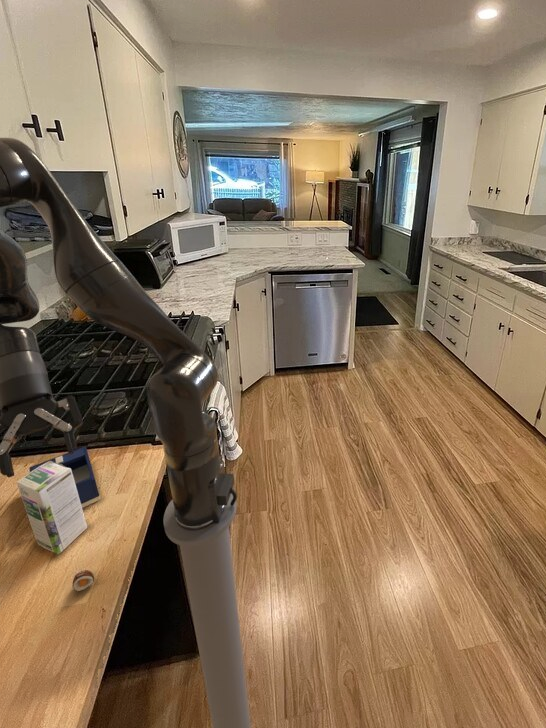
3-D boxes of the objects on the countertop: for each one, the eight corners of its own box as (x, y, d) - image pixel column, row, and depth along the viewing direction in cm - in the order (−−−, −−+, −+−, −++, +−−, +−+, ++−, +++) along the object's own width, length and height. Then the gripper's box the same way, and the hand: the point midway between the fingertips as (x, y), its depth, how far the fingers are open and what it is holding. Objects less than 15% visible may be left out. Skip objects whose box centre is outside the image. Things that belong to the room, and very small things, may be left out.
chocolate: (97, 573, 60) (92, 557, 58) (95, 586, 58) (90, 569, 56) (76, 581, 58) (70, 564, 57) (73, 595, 57) (67, 578, 55)
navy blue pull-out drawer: (101, 501, 73) (93, 474, 70) (39, 530, 67) (29, 501, 64) (91, 464, 82) (84, 439, 79) (36, 487, 76) (27, 460, 73)
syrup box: (36, 545, 64) (12, 483, 59) (68, 517, 69) (49, 458, 64) (58, 556, 62) (36, 493, 57) (89, 526, 68) (72, 466, 63)
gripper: (-36, 387, 60) (-18, 482, 56) (66, 362, 69) (88, 442, 64) (-23, 399, 66) (-6, 487, 61) (69, 374, 74) (90, 449, 70)
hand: (42, 464), depth 63 cm, fingers open, 8 cm apart
